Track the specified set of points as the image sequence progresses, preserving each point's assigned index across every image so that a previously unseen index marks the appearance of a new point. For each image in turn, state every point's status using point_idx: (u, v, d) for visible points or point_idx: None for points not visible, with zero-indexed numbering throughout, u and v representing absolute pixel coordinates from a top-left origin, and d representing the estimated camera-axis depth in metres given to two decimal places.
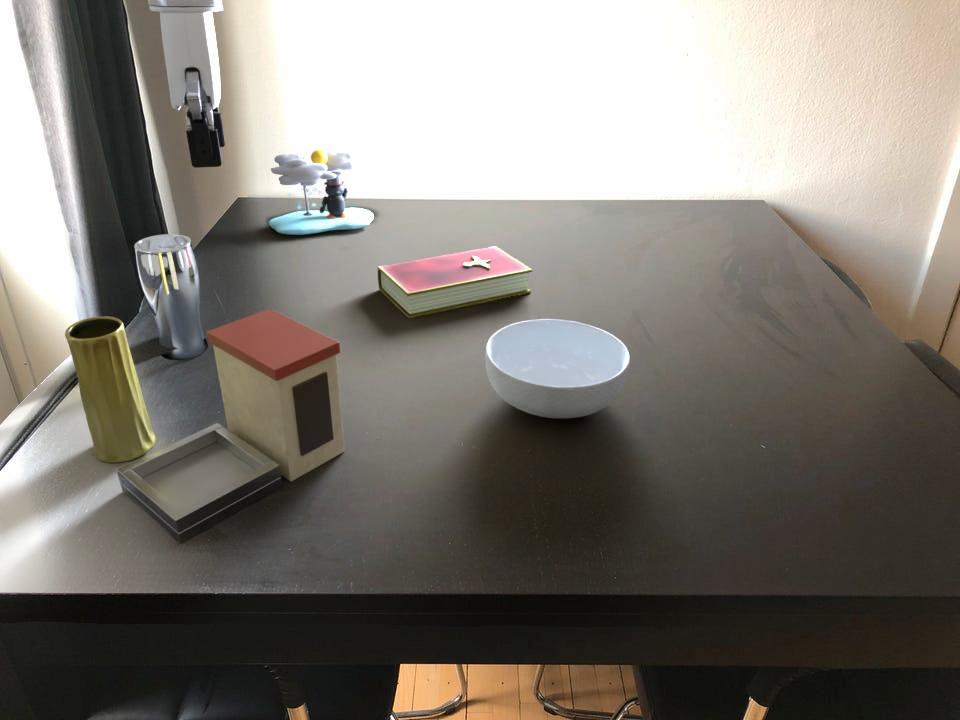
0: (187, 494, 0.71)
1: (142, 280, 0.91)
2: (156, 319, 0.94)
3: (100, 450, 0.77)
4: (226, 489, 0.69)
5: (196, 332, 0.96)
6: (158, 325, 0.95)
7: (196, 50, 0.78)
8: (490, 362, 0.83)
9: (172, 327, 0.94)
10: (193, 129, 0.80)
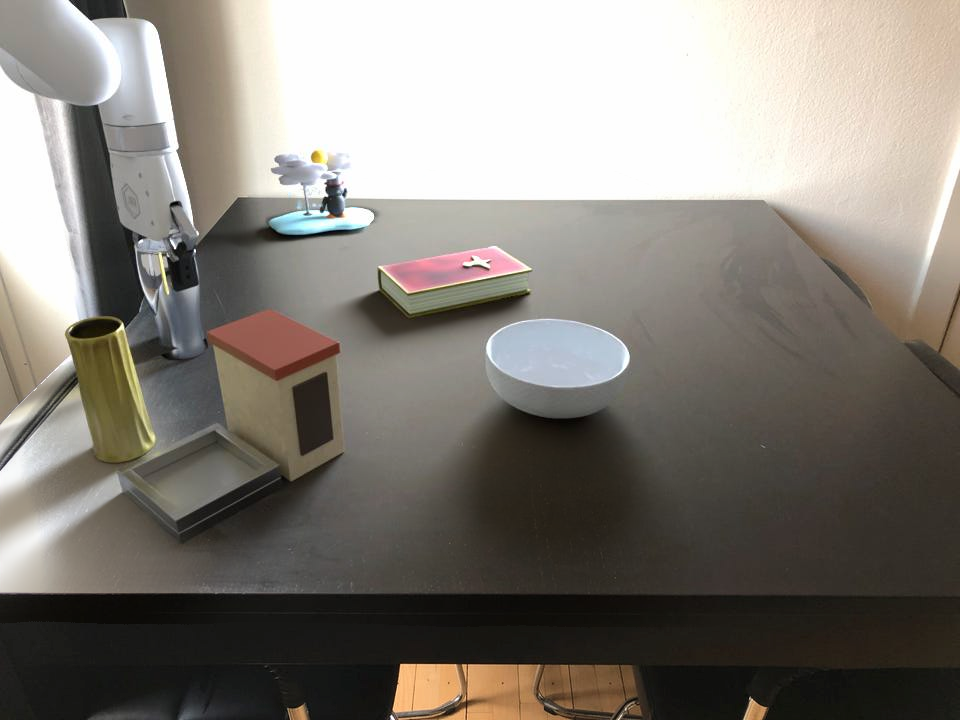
0: (187, 494, 0.71)
1: (142, 280, 0.91)
2: (156, 319, 0.94)
3: (100, 450, 0.77)
4: (226, 489, 0.69)
5: (196, 332, 0.96)
6: (158, 325, 0.95)
7: (177, 185, 0.85)
8: (490, 362, 0.83)
9: (172, 327, 0.94)
10: (180, 259, 0.88)
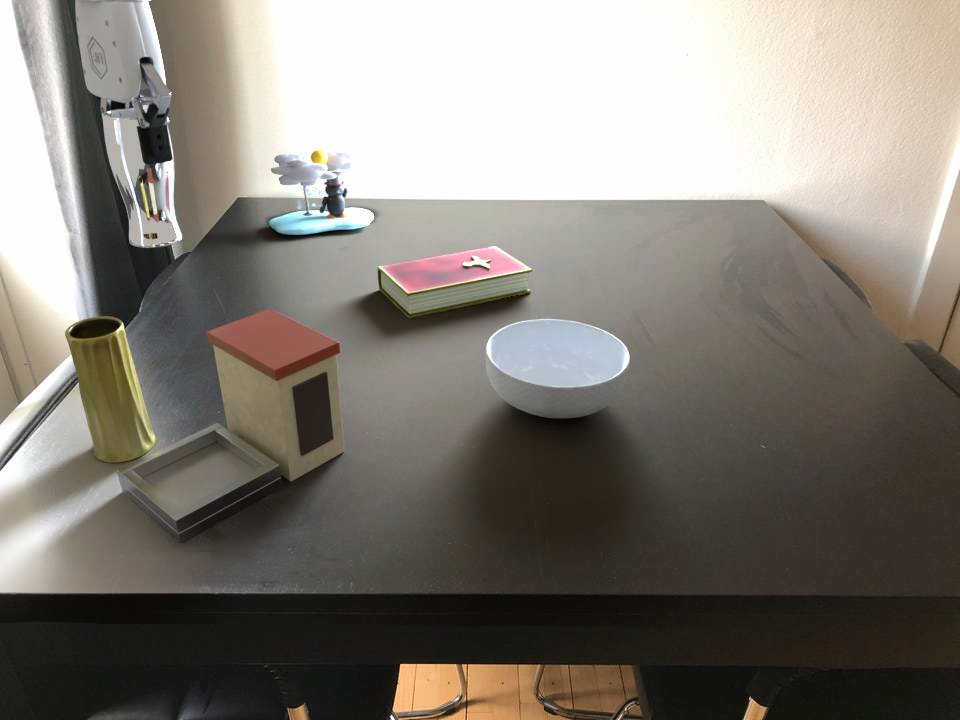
0: (187, 494, 0.71)
1: (110, 152, 0.83)
2: (125, 200, 0.86)
3: (100, 450, 0.77)
4: (226, 489, 0.69)
5: (170, 218, 0.88)
6: (127, 207, 0.87)
7: (148, 39, 0.77)
8: (490, 362, 0.83)
9: (142, 209, 0.86)
10: (151, 125, 0.80)
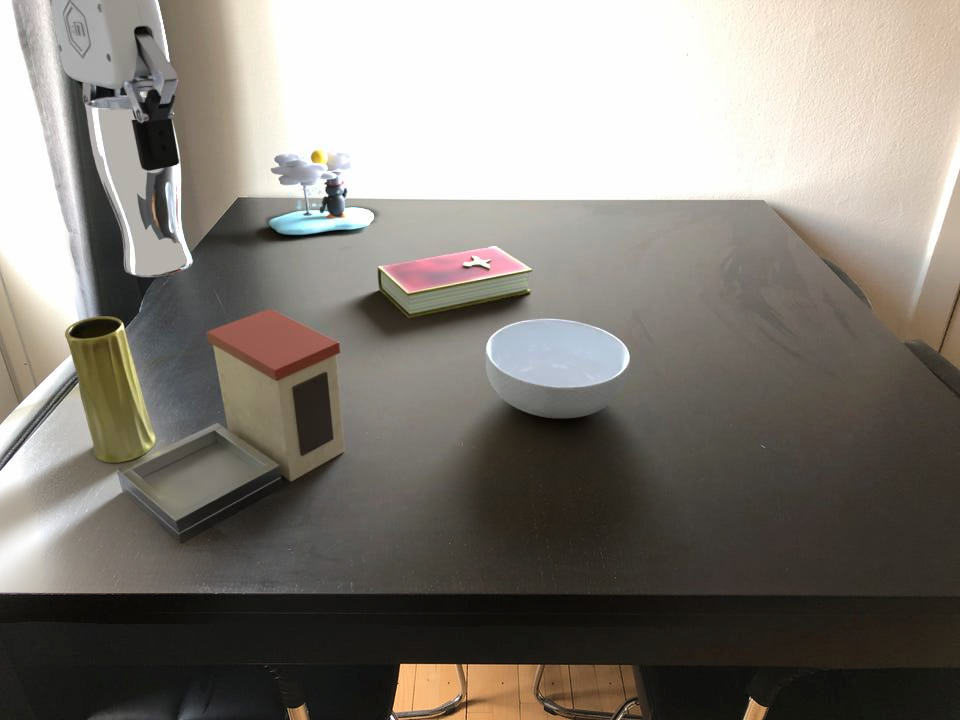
0: (187, 494, 0.71)
1: (97, 155, 0.63)
2: (118, 216, 0.66)
3: (100, 450, 0.77)
4: (226, 489, 0.69)
5: (176, 238, 0.68)
6: (122, 226, 0.67)
7: (146, 2, 0.57)
8: (490, 362, 0.83)
9: (141, 227, 0.66)
10: (151, 118, 0.60)
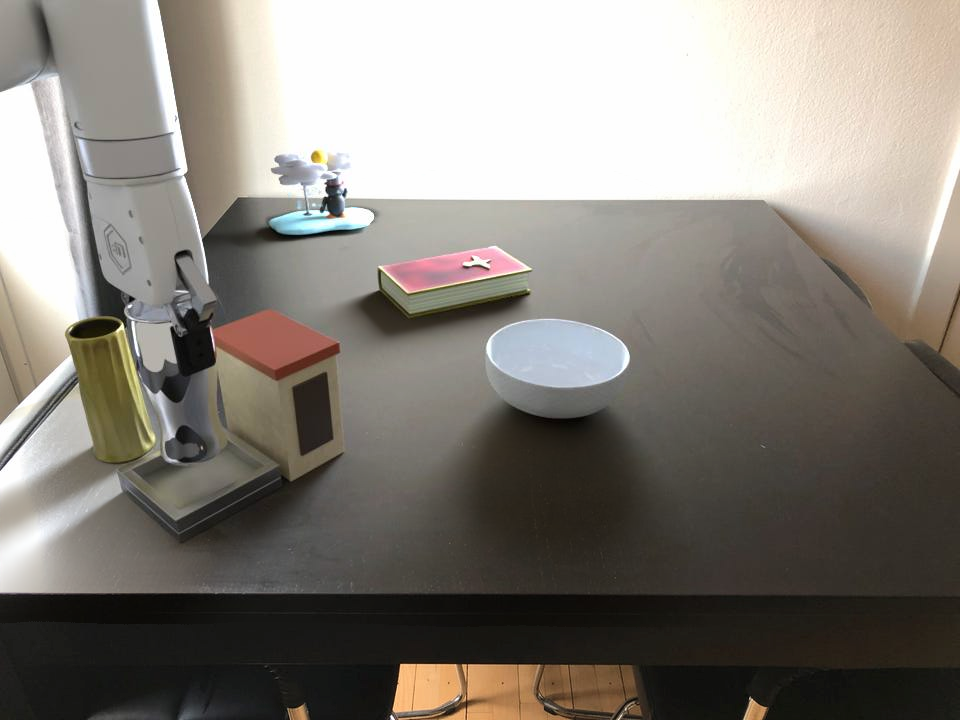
0: (187, 494, 0.71)
1: (136, 359, 0.63)
2: (156, 411, 0.66)
3: (100, 450, 0.77)
4: (226, 489, 0.69)
5: (212, 426, 0.69)
6: (159, 418, 0.67)
7: (186, 227, 0.58)
8: (490, 362, 0.83)
9: (178, 422, 0.66)
10: (189, 332, 0.61)
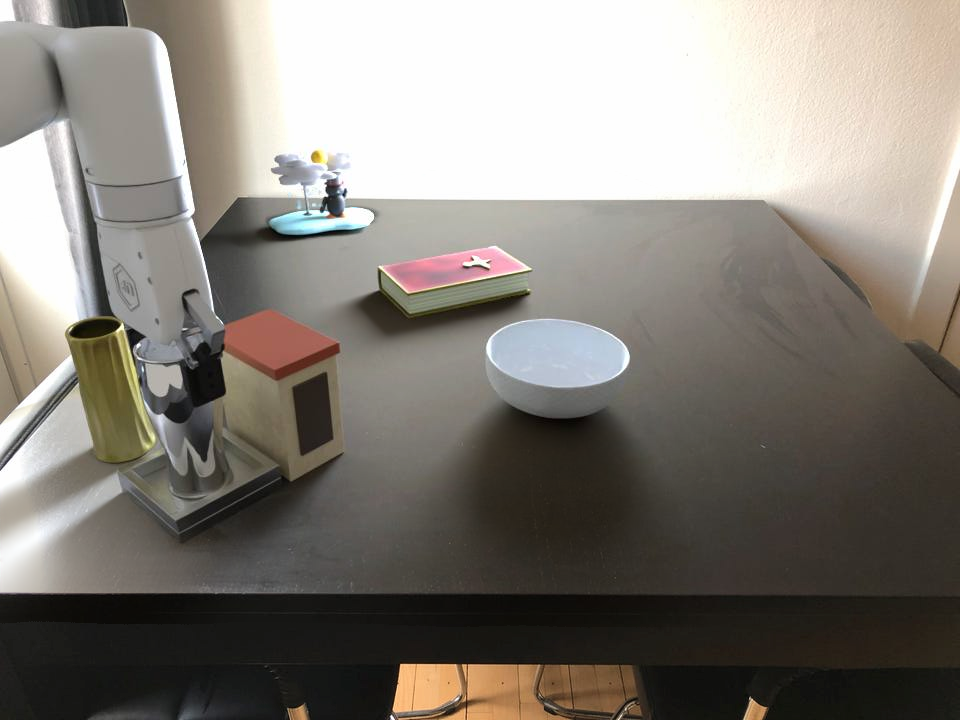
0: None
1: (144, 397, 0.65)
2: (163, 445, 0.68)
3: (100, 450, 0.77)
4: (226, 489, 0.69)
5: (218, 459, 0.70)
6: (166, 453, 0.69)
7: (193, 267, 0.59)
8: (490, 362, 0.83)
9: (185, 457, 0.68)
10: (201, 364, 0.61)
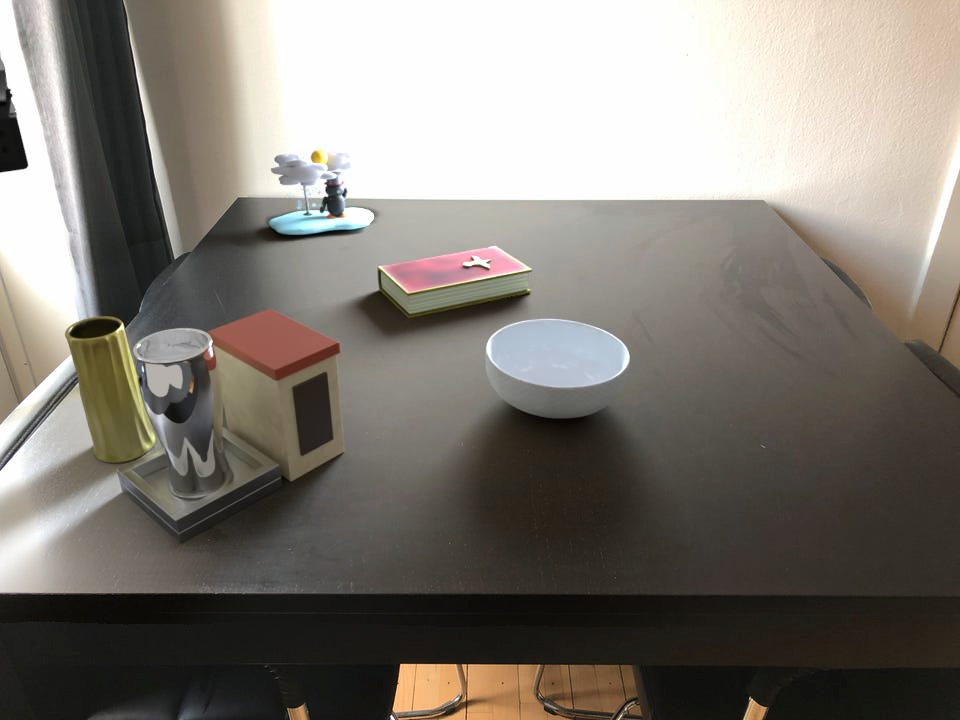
0: None
1: (144, 397, 0.65)
2: (163, 445, 0.68)
3: (100, 450, 0.77)
4: (226, 489, 0.69)
5: (218, 459, 0.70)
6: (166, 452, 0.69)
7: None
8: (490, 362, 0.83)
9: (185, 457, 0.68)
10: None
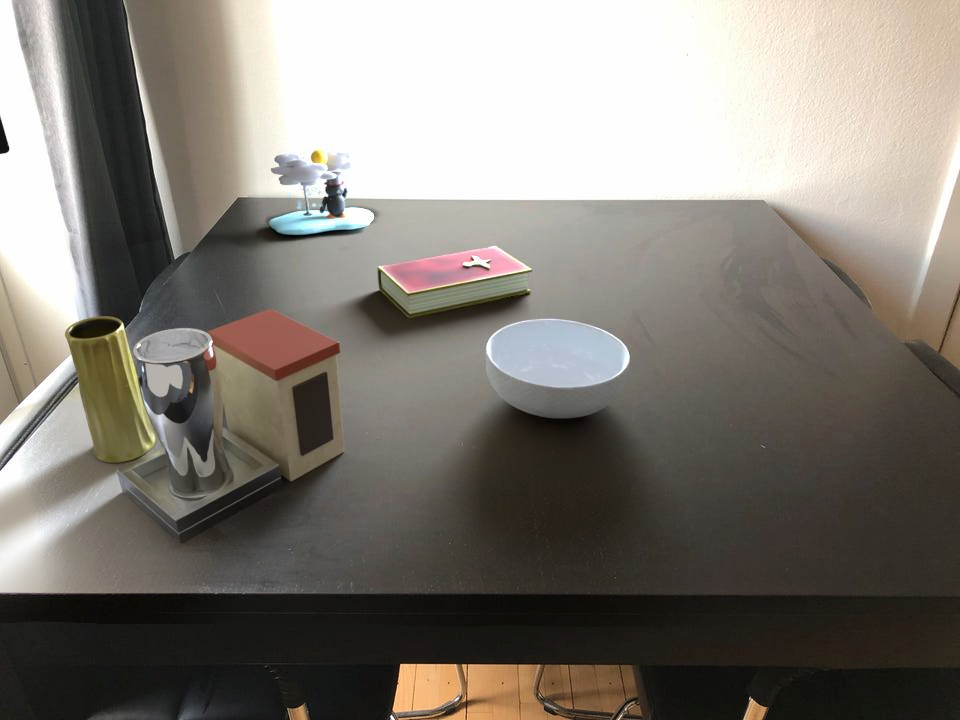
0: None
1: (144, 397, 0.65)
2: (163, 445, 0.68)
3: (100, 450, 0.77)
4: (226, 489, 0.69)
5: (218, 459, 0.71)
6: (166, 452, 0.69)
7: None
8: (490, 362, 0.83)
9: (185, 457, 0.68)
10: None
